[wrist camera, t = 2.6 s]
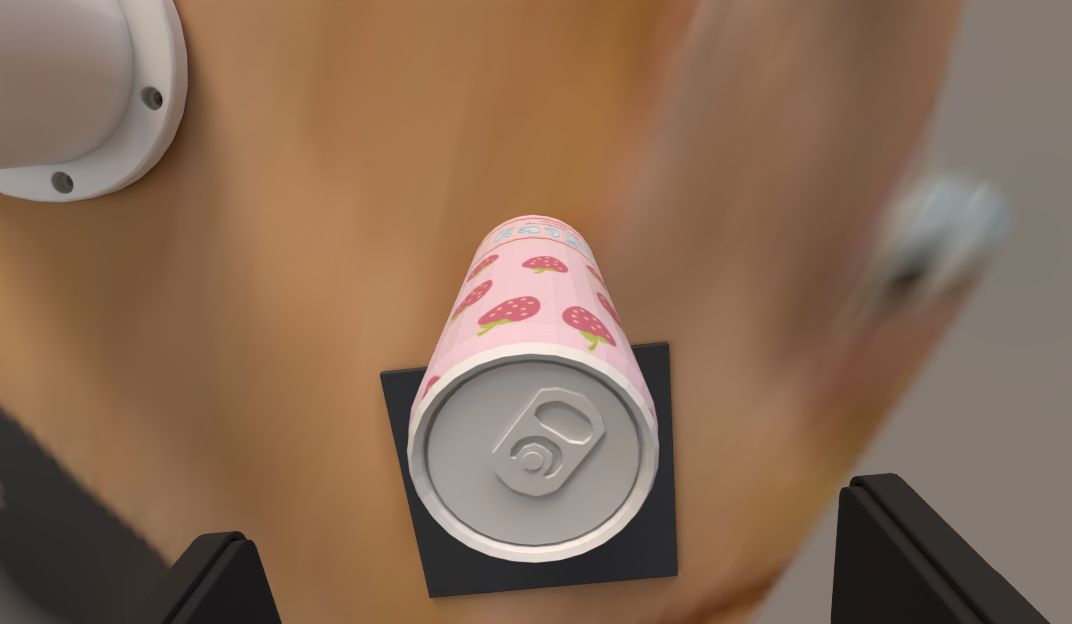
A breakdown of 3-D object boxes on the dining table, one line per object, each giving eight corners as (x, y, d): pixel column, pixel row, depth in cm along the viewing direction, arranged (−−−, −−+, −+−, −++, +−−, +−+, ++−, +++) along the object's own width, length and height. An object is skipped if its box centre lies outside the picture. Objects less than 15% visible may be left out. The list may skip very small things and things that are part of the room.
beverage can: (606, 224, 25) (700, 361, 11) (583, 341, 27) (637, 588, 13) (480, 204, 25) (408, 317, 11) (465, 323, 27) (386, 556, 12)
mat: (381, 371, 27) (379, 374, 27) (667, 341, 27) (669, 344, 27) (430, 594, 32) (429, 598, 32) (676, 571, 31) (678, 576, 31)
